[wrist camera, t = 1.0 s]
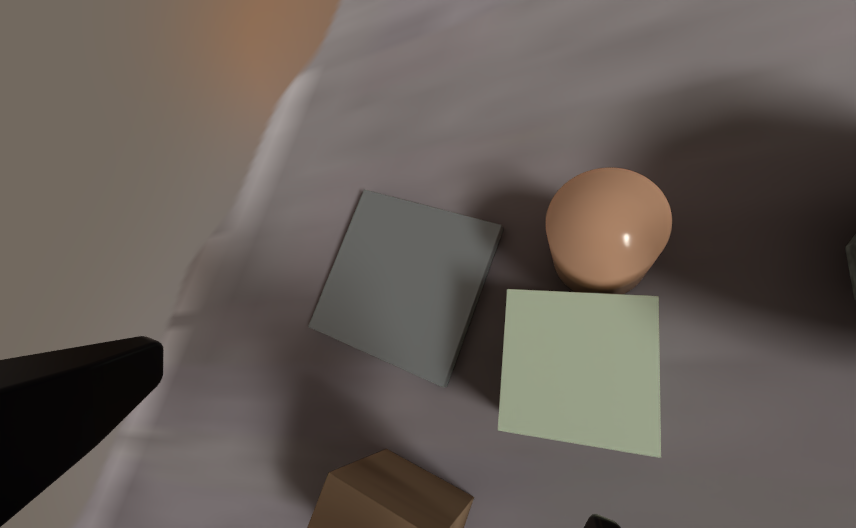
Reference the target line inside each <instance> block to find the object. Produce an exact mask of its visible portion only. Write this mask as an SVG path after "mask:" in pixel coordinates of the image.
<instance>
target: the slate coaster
mask: <svg viewBox="0 0 856 528" xmlns="http://www.w3.org/2000/svg"><path fill="white" fill-rule="evenodd" d="M502 232H503V227H502V225H499V224H496V223H492V222H488V221H484V220H480V219H476V218H472V217H468V216H465V215H461V214H457V213H453V212H449V211H445V210H441V209H438V208H434V207H430V206H426V205H422V204H418V203H414V202H411V201H407V200H403V199H399V198H395V197H391V196H387V195H383V194H380V193H376V192H372V191H368V190H364V191H363V194H362V196H361V198H360V201H359V203H358V206H357V208H356V211H355V213H354V216H353V218H352V221H351V223H350V225H349V228H348V230H347V233H346V235H345V238H344V240H343V243H342V245H341V248H340V250H339V252H338V255H337V257H336V260H335V262H334V265H333V267H332V270H331V272H330V275H329V277H328V279H327V282H326V284H325V287H324V289H323V292H322V294H321V297H320V299H319V302H318V304H317V306H316V309H315V311H314V314H313V316H312V319H311V321H310V324H309V326H308V327H309V328H312V329H314V330H316V331H318V332H321V333H323V334H325V335H327V336H329V337H332V338H334V339H336V340H338V341H341V342H343V343H345V344H347V345H349V346H352V347H354V348H356V349H358V350H361V351H363V352H365V353H367V354H369V355H372V356H374V357H376V358H378V359H380V360H383V361H385V362H387V363H389V364H392V365H394V366H396V367H398V368H400V369H403V370H405V371H407V372H409V373H412V374H414V375H416V376H418V377H420V378H423V379H425V380H427V381H429V382H432V383H434V384H436V385H438V386H440V387H443V388H444V387H447V385H448V382H449V379H450V377H451V374H452V371H453V368H454V366H455V363H456V360H457V357H458V354H459V352H460V349H461V346H462V343H463V340H464V338H465V335H466V332H467V329H468V327H469V324H470V321H471V318H472V315H473V313H474V310H475V307H476V304H477V302H478V299H479V296H480V293H481V290H482V288H483V285H484V282H485V279H486V276H487V274H488V271H489V268H490V265H491V263H492V260H493V257H494V254H495V251H496V249H497V246H498V243H499V240H500V237H501V235H502Z"/></svg>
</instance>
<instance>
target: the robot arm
mask: <svg viewBox="0 0 856 528" xmlns="http://www.w3.org/2000/svg"><path fill="white" fill-rule="evenodd" d="M162 376H163V346H162V344H161V343H160V342H158V341H156V340H153V339H151V338H148V337H144V336H140V337H134V338H127V339H122V340H116V341H110V342H104V343H98V344H93V345H86V346H80V347H75V348H69V349H63V350H57V351H51V352H45V353H40V354H33V355H28V356H22V357H16V358H10V359H4V360H0V527H1V526H2V525H3V524H5V523H6V522H7V521H8V520H9V519H11V518H12V517H13V516H14V515H15V514H16V513H18V512H19V511H20V510H21V509H22V508H24V507H25V506H26V505H27V504H28V503H29V502H30V501H32V500H33V499H34V498H35V497H37V496H38V495H39V494H40V493H41V492H43V491H44V490H45V489H46V488H47V487H48V486H50V485H51V484H52V483H53V482H54V481H56V480H57V479H58V478H59V477H60V476H61V475H63V474H64V473H65V472H66V471H67V470H69V469H70V468H71V467H72V466H73V465H75V464H76V463H77V462H78V461H79V460H80V459H82V457H84V456H85V455H86V454H87V453H89V452H90V451H91V450H92V449H93V448H94V447H95V446H97V445H98V444H99V443H100V442H101V441H102V440H103V439H104V438H105V437H106V436H107V435H108V434H109V433H110V432H111V431H112V430H113V429H114V428H115V427H116V426H117V425H118V424H119V423H120V422H121V421H122V420H123V419H124V418H125V417H126V416H127V415H128V414H129V413H130V412H131V411H132V410H133V409H134V408H135V407H136V406H137V405H138V404H139V403H140V402H141V401H142V400H143V399H144V398H146V397H147V396H148V395H149V394H150V393H151V392H152V391H153V390H154V389H155V388H156V387H157V385H158V384H159V383H160V381H161V379H162ZM584 528H621V527H620V526H619V525H618V524H617V523H616V522H615V521H612V520H610V519H607V518H605V517H602V516H600V515H597V514H593V515H591V516H590V517H589V519H588V521H587V522H586V524H585V526H584Z"/></svg>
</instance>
